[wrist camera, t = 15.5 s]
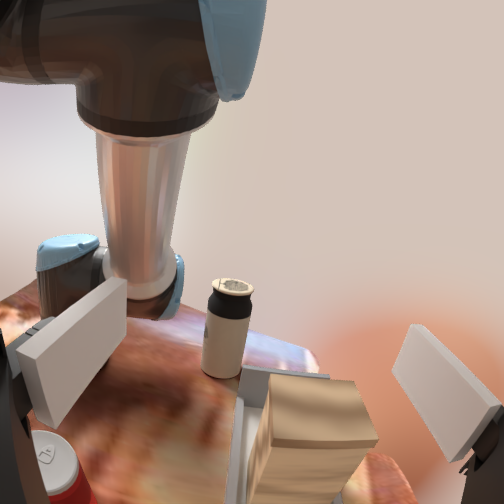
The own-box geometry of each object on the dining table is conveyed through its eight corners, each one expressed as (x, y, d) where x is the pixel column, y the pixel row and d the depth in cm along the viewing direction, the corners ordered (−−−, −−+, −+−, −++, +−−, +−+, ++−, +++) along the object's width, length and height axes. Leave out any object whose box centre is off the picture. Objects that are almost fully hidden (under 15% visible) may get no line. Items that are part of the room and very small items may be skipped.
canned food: (101, 489, 23) (83, 438, 20) (99, 540, 15) (72, 502, 13) (45, 476, 20) (17, 421, 18) (36, 524, 13) (-4, 477, 11)
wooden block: (246, 461, 32) (270, 373, 29) (313, 465, 32) (353, 380, 29) (243, 515, 23) (273, 437, 20) (321, 517, 23) (379, 439, 20)
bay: (234, 405, 46) (243, 364, 44) (314, 413, 46) (329, 374, 44) (219, 537, 20) (228, 509, 18) (338, 538, 20) (371, 507, 18)
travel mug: (242, 362, 60) (257, 282, 56) (236, 383, 52) (253, 297, 48) (205, 354, 60) (216, 274, 56) (195, 374, 52) (205, 287, 49)
